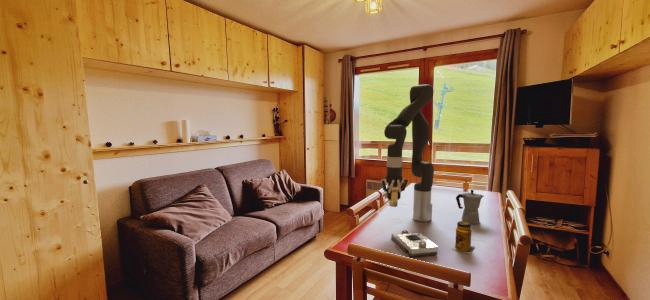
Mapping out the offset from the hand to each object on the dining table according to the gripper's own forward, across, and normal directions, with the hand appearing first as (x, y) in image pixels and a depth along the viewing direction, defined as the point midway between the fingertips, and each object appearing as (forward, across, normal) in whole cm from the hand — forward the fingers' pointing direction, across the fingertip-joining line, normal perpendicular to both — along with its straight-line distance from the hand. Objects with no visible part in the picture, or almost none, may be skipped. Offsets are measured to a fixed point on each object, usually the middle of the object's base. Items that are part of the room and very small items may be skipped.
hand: (393, 199), depth 136 cm
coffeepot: (+17, -48, -7) cm, 51 cm away
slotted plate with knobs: (+17, -3, +16) cm, 24 cm away
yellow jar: (+18, -24, +21) cm, 37 cm away
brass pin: (+3, 0, 0) cm, 3 cm away
